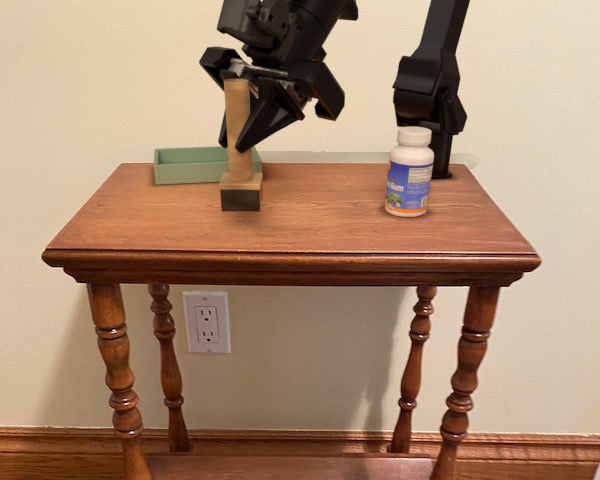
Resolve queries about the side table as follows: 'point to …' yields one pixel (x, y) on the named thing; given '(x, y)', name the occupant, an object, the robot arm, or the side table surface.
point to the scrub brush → (239, 154)
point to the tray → (195, 164)
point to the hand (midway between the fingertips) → (229, 148)
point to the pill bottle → (409, 173)
